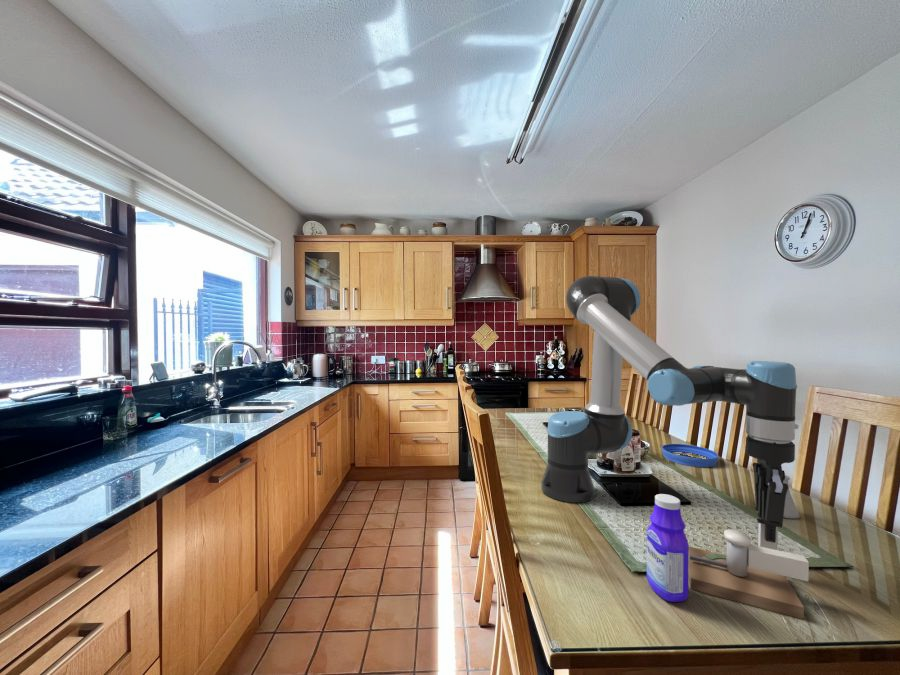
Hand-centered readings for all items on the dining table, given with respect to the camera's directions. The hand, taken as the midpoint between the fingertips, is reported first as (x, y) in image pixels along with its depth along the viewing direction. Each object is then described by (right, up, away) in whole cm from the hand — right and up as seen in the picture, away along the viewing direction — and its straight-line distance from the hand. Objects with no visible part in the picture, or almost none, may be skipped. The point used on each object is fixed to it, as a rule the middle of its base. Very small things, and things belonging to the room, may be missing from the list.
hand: (767, 553), depth 75 cm
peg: (-8, -1, -5) cm, 10 cm away
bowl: (+26, -3, +65) cm, 70 cm away
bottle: (-24, -4, -6) cm, 25 cm away
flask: (+24, -3, +24) cm, 34 cm away
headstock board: (-9, -3, -4) cm, 11 cm away
